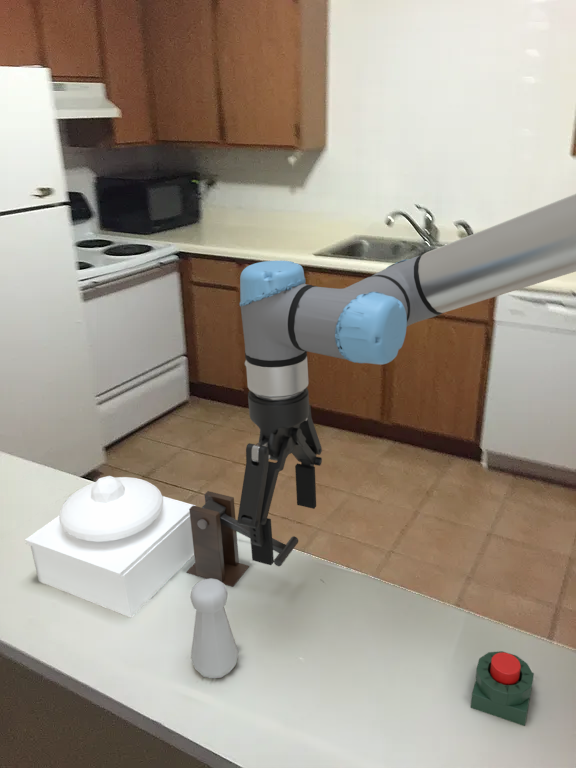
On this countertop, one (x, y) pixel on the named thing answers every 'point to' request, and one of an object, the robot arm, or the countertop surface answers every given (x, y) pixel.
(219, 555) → the bracket
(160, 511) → the white lidded container
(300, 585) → the countertop surface
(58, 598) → the countertop surface
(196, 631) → the salt shaker
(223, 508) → the lever
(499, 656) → the button
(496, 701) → the button box
